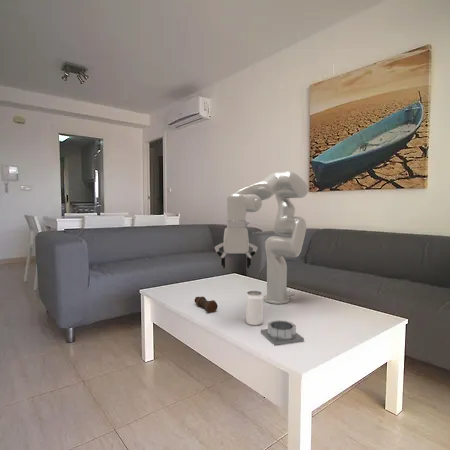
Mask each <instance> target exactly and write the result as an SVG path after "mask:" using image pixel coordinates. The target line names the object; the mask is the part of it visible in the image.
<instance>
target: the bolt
mask: <svg viewBox="0 0 450 450" xmlns="http://www.w3.org/2000/svg"><path fill="white" fill-rule="evenodd" d="M194 302H195V303H196V305H197V306H198V308H199V307H200V308H205V310H206V313H208V314H213V313H215V312H216V311H217V309H218V307H219V306H218V304H217V303H218V302H216V300H213V299H212V300H207V299H206V297H205V296H195V297H194Z"/></svg>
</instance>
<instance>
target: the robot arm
mask: <svg viewBox="0 0 450 450" xmlns="http://www.w3.org/2000/svg"><path fill="white" fill-rule="evenodd" d="M308 188H309V187H308V184H307V182H306V181H305V180H304V179H303V178H302V177H301V176H300V175H299V174H298V173H296V172H294V171H291V170H287V171H275V172H272V173H270V174H268V175H267V176H266V177H264V178H263V179H262V180H260V181H259V182H256V183H253V184H251V185H248V186H246V187H244V188H241V189H239V190H237V191H236V192H235V193H232V194H228V195H227V197H226V227H225V228H224V233H223V242H221V243H219V244H217V245H216V246H214V250H215V252H216V254H217V255H218V256H219V257H220V258H221V261H220V262H221V267H222V269H225V268H226V258H225V257H226V255H228V254H230V255H231V254H236V255H237V254H243V255H244V254H245V255H246V268H247V269H250V266H251V264H252V263H251V262H252V261H251V260H252V257H253V256H254V255H255V254H256V253H257V251H258V249H259V248H258V246H256V245H255V244H254V243H253V244H252V243H250V242H249V241H250V240H249V230H248V228H247V226H250V222H248V221H246V220H247V219H246V218H247V217H246V216H247V215H246V213H248V214H251V213H256V212H259V211H260V209H261V208H262V205H263V202H262V201H265V200H269V199H270V198H271V197H273V196H275V199H276V201H277V208H278V209H277V211H276V217H275V220H274V222H273V229H272V230H273V232H274V233H275V234H276V235H272V236H269V237H267V239H266V240H265V242H264V248H265V253H266V295H265V296H263V301H264V302H266V303H267V304H268V303H269V304H273V305H284V304H288V303H289V302H290V301H291V300H290V297H295V296H296V295H297V294H296V292H295V291H290V290H289V291H288V290H287V286H288V285H287V281H288V280H287V279H288V277H287V276H288V265H287V262H286V259H285V257H286V258H297V257H299V255H300V254H301V252H302V249H303V245H304V240H305V236H306V232H307V223H306V220H305V219H304V217H302V216H295V213H296V208H295V205H294V204H293V202H292V201H291V200H290V199H301V198H302V199H303V198H305V197H306V196H307V195H308V191H309V189H308ZM222 247H223V252H221V251H220V249H221V248H222ZM250 248H252V251H251V252H249V250H250Z"/></svg>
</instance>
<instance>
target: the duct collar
mask: <svg viewBox="0 0 450 450" xmlns="http://www.w3.org/2000/svg"><path fill="white" fill-rule="evenodd" d="M260 333H261V334H262V335H263V336H264V337H265V338H266V339H267V340H268V341H269V342H270V343H271V344H272V345H273V344H274V345H273V346H280V345H281V344H282V345H288V344H295V343H301V342H300V341H302V342H304V341H305V338H304V337H303V336H301V335H300V334H299V333H297V325H295V324H294V323H293V322H291V321H287V320H272V321H269V322H268V323H267V328H265V329H260ZM294 342H295V343H294Z"/></svg>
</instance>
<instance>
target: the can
mask: <svg viewBox="0 0 450 450" xmlns="http://www.w3.org/2000/svg"><path fill="white" fill-rule="evenodd" d="M246 293H247V294H246V295H245V296H246V299H245V322H246V324H247V325H249V326H255V327H256V326H261V325H262V324H263V322H264V321H263V317H264V316H263V315H264V314H263V312H264V311H263V309H264V307H263V305H264V303H263V301H264V296H263V295H262V293H263V292H261V291H257V290H250V291H247V292H246Z"/></svg>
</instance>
